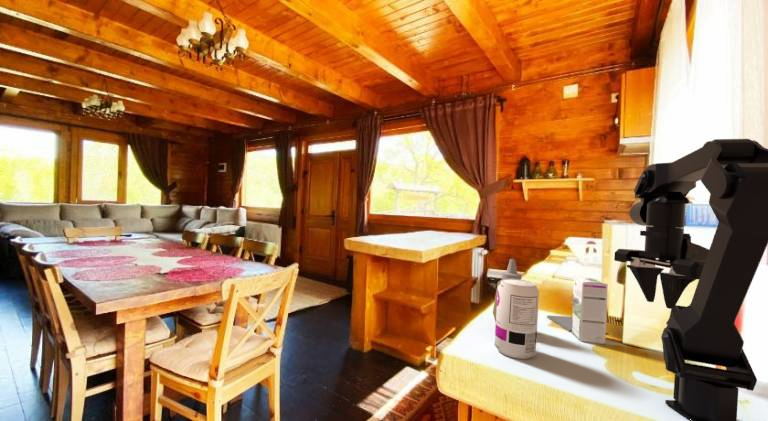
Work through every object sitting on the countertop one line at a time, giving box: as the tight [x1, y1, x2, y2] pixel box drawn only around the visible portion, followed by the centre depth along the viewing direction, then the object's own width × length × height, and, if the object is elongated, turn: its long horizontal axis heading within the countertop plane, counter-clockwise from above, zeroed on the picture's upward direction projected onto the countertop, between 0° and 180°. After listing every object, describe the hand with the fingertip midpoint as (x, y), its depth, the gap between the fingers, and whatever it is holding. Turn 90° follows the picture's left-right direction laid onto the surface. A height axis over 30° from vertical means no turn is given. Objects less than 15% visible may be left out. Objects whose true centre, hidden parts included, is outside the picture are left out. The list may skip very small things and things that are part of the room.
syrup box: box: [571, 277, 609, 345], centre depth 79 cm, size 6×6×14 cm
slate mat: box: [546, 315, 572, 333], centre depth 88 cm, size 11×10×1 cm
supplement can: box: [494, 278, 540, 360], centre depth 69 cm, size 8×8×15 cm
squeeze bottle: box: [492, 258, 522, 323], centre depth 82 cm, size 8×8×18 cm
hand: (659, 305), depth 64 cm, fingers open, 4 cm apart
